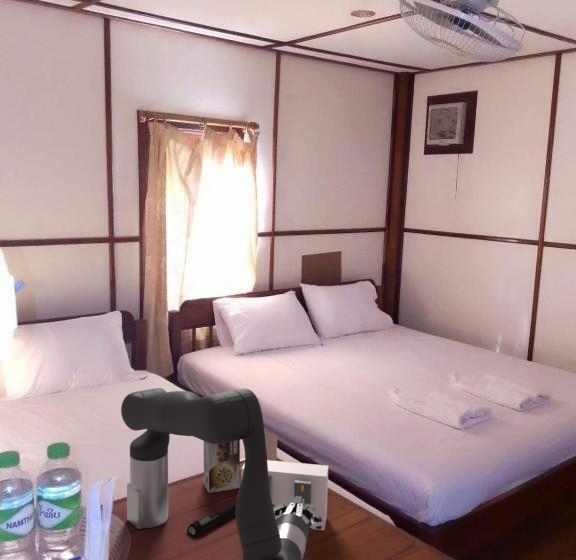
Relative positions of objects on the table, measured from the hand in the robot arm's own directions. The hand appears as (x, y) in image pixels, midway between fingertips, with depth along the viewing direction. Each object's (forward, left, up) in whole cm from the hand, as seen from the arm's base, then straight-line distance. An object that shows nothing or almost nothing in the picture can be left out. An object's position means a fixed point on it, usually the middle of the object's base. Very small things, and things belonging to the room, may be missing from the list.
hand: (298, 500), depth 139 cm
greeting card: (+14, +31, -12) cm, 36 cm away
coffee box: (+4, +36, -12) cm, 38 cm away
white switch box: (+6, +12, -12) cm, 18 cm away
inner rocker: (-1, +12, -5) cm, 13 cm away
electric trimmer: (-9, +21, -13) cm, 26 cm away
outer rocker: (+6, +5, -5) cm, 10 cm away
